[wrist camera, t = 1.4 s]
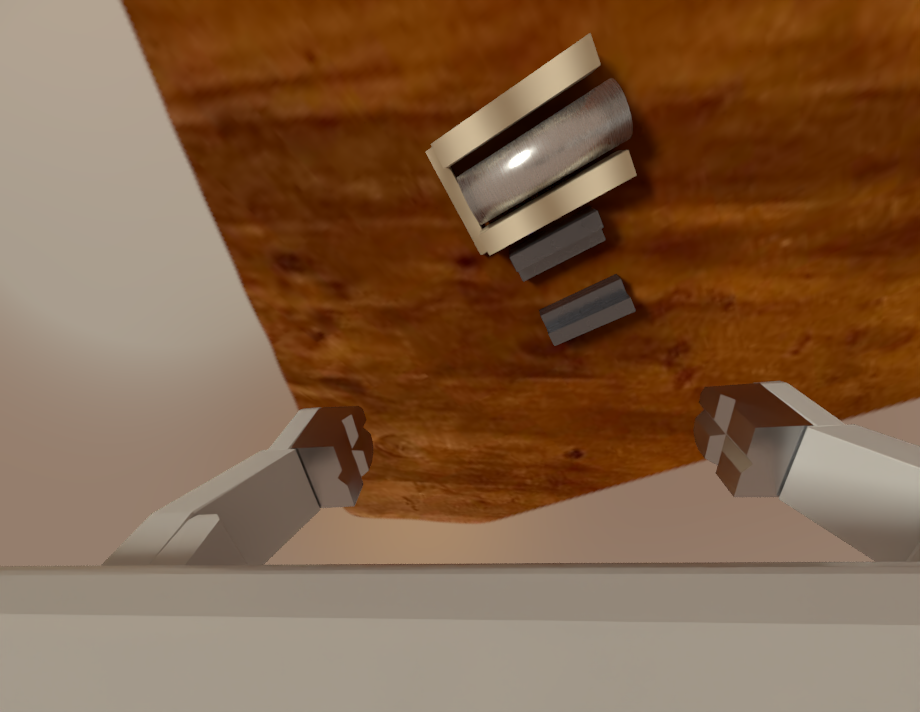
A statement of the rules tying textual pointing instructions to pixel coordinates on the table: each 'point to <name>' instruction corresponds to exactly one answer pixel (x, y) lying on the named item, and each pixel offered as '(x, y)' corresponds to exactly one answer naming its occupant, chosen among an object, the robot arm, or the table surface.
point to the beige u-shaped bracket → (504, 115)
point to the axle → (548, 152)
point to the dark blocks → (585, 305)
